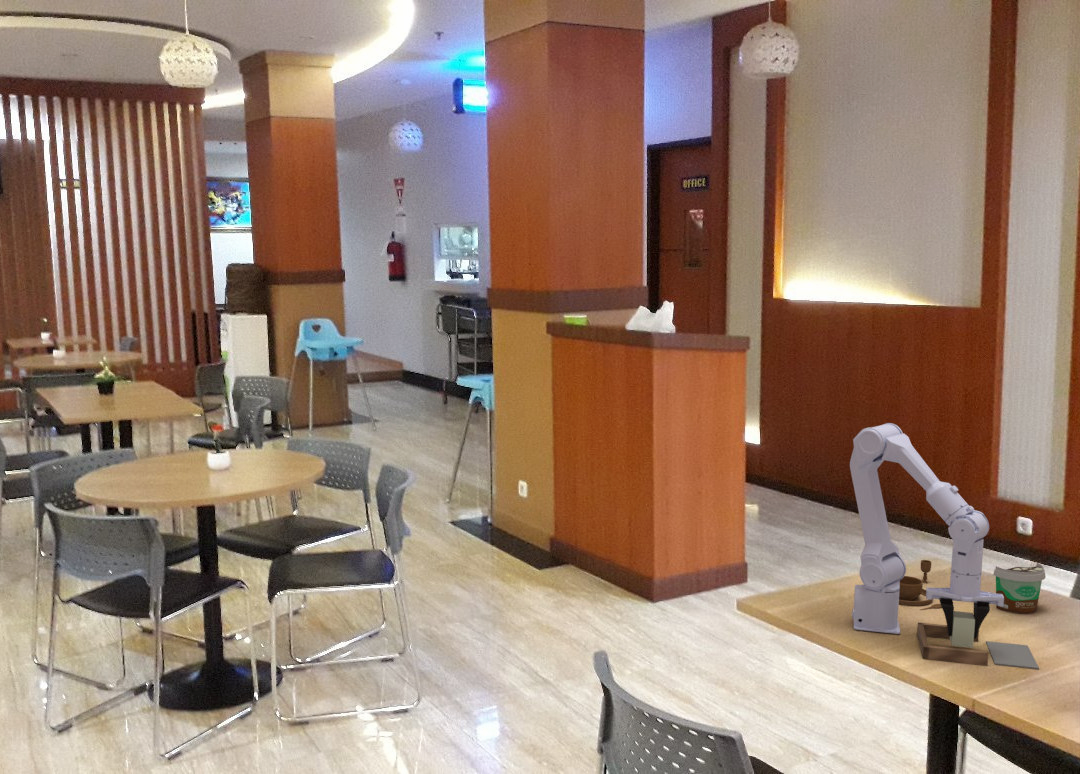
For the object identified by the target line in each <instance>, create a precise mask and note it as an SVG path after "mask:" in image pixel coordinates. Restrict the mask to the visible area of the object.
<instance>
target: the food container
mask: <svg viewBox="0 0 1080 774" xmlns="http://www.w3.org/2000/svg"><path fill="white" fill-rule="evenodd" d="M992 575H993V576H994V577H995V593H996V594H1003V596H1004V605H1003V606H998V605H996V606H995V607H996V608H995V609H998V610H1000V611H1003V612H1006V613H1011V614H1018V615H1030V614H1034V613H1036V612H1037V609H1038V604H1039V600H1040V599H1039V598H1040V593H1041V587H1042V581H1043V580H1045V579H1046V570H1045V569H1044V565H1043V564H1041V563H1039V562H1036V566H1028V567H1026V566H1015V567H1011V568H1002V567H999V566H995V569H994V571H993V574H992Z"/></svg>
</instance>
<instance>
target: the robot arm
mask: <svg viewBox="0 0 1080 774" xmlns="http://www.w3.org/2000/svg"><path fill="white" fill-rule="evenodd" d="M852 441H853V449H852V453H851V457H850V459H849V460H850V461H849V469H850V474H851V480H852V484H853V489H854V494H855V500H856V504H857V510H858V514H859V519H860V520H859V521H860V524H861V530H862V536H863V540H864V547H863V549H862V550H861V554H860V568H859V577H860V581H861V582H862V584H855V585H854V594H853V609H852V610H851V618H852V621H853V629H854V630H856V631H857V630H858V631H865V632H874V633H875V632H876V633H885V634H896V635H900V634H901V628H900V623H899V622H900V621H899V619H898V618H899V605H900V604H899V600H900V598H899V591H900V580H901V579H902V578H903V577H904V576H906V573H907V565H906V563H905V561H904V559H903V557H902V556H901V554H900V551H899V547H898V546H897V545H896V543H894V542H893V541H892V540H891V534H890V530H889V524H888V519H887V514H886V513H887V512H886V509H885V503H884V499H883V494H882V488H881V483H880V478H879V473H878V468H879V467H880V466H881V465H882V463H884V462H885V461H886V462H891V463H897V464H899V465H900V466H901V467H902V468H903V469H904V470H905V471H906V472H907V473H908V474H909V475H910V476H911V477H912V478H913V479H914V480H915V481H916V482H917V483H918V485H920V486H921V487H922V488H923V490H924V491H925V492H926V494H925V495H926V497H925V499H926V502H928V504H929V505H930V506H931V508H933V509H934V510H935V512H936V513H937V515H938V516H940V517H941V519H942V520H943V521H944V522H945V524H946V525H948V528H947V530H948V534H949V536H950V538H951V539H952V551H951V564H950V565H951V566H950V582H949V587H926V589H925V590H926V597H925V598H926V600H928V599H930V600H932V599H933V600H939V604H941V606H942V607H941V609H942V611H943V614H944V616H945V617H944V618H945V622H946V625H947V633H948V636H952V631H953V626H952V621H953V612H954V611H955V607H954V601H955V602H965V603H973V612H972V613H973V615H974V618H975V628H974V638H975V639H976V638H977V634H978V631H979V632H980V628H981V626H982V624H983V621H984V620H985V619H986V617H987V616H988V614H989V613H990V611H991V606H990V605H994V606H995V605H998V606H1003V605H1004V596H1003V594H996V592H990V591H984V590H981V584H982V573H983V571H982V568H983V556H984V555H983V554H984V541H985V540H984V537H986V536H987V535H988V533H989V530H990V524H989V520H988V518H987V517H986V516H985V514H984V513H983V512H982V511H979V510H975V508H974V507H973V506H972V505H969V504H968V503H967V501H965V499H964V498H963V497H962V496H961V495H960V493H958V491H959V488H958V487H957V486H956V485H952V484H951V483H950V482H945V481H940V479H939V478H938V477H937V476H936V474H935V473H934V471H933V470H932V469H931V468H930V466H928V464H927V463H926V461H925V460H924V459H923V457H922V456H921V454H920V453H918V451H917V450H916V449H915V446H913V445H912V443H911V440H910V437H909V436H908V435H907V434H905V433H903V431H902V429H901V428H900V427H899V426H898V425H897V424H895V423H891V422H887V423H884V424H881V425H876V426H871V427H865V428H863V429H861V430H860V431H859V432H858V433H857V435H856V436H855V437H854V438H853V439H852ZM933 600H932V601H933Z"/></svg>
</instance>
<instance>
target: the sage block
mask: <svg viewBox="0 0 1080 774" xmlns="http://www.w3.org/2000/svg"><path fill="white" fill-rule="evenodd" d="M952 626H953V631H952V636H950V639H949V640H950V644H951V646H952V647H962V648H970V649H973V648H974V643H975V641H974V628H975V618H974V615H973V612H968V611H967V612H966V611H958V610H954V612H953V621H952Z"/></svg>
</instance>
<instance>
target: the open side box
mask: <svg viewBox="0 0 1080 774" xmlns="http://www.w3.org/2000/svg"><path fill="white" fill-rule="evenodd" d="M916 629H917V630H916V634H917V638H918V644H919V648H920V651H921V656H922V659H924V660H932V661H941V662H951V663H952V662H953V663H958V664H959V663H961V664H969V665H977V666H988V664H989V652H988V651H986V650H985V651H984V650H974V649H965V648H956V647H955V648H954V647H947V646H938V645H929V642H928V638H927V637H929V638H930V637H931V638H940V639H949V640H950V636H948V633H947V624H937V623H926V622H917V628H916ZM979 634H980V630H979V631H978V634H977V638H976V639H975V638H974V642H979V638H980V637H979Z"/></svg>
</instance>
